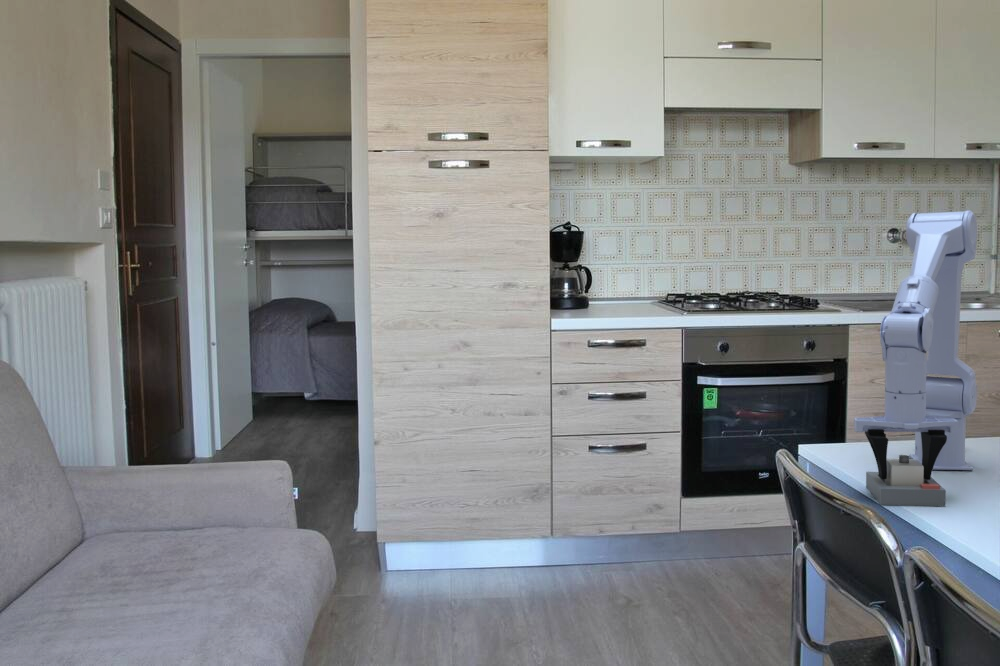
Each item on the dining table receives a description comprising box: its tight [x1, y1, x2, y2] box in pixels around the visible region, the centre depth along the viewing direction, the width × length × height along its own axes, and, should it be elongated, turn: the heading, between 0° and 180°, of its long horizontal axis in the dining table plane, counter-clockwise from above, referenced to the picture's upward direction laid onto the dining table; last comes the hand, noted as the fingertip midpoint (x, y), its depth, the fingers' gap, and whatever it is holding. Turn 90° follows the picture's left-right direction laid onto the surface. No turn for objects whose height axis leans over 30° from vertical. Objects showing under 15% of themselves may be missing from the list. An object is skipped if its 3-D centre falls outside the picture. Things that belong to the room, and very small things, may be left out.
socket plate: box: [865, 471, 947, 507], centre depth 135 cm, size 10×9×3 cm
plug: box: [885, 454, 924, 486], centre depth 135 cm, size 4×4×6 cm
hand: (904, 477), depth 135 cm, fingers open, 6 cm apart
